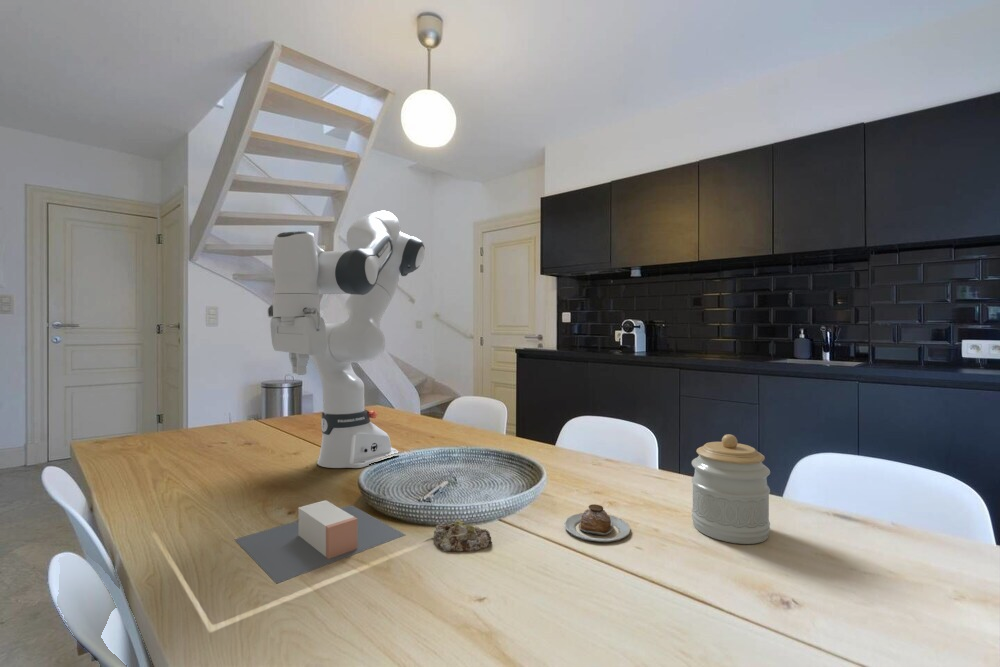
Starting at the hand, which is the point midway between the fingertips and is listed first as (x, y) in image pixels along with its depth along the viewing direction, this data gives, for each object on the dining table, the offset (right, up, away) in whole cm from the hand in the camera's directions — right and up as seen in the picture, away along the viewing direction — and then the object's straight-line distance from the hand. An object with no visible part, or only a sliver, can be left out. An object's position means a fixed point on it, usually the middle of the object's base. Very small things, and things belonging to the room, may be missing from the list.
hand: (299, 374), depth 97 cm
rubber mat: (+10, -28, -15) cm, 34 cm away
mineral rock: (+36, -28, -16) cm, 48 cm away
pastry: (+60, -29, -11) cm, 68 cm away
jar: (+85, -28, -12) cm, 90 cm away
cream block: (+8, -25, -13) cm, 29 cm away
